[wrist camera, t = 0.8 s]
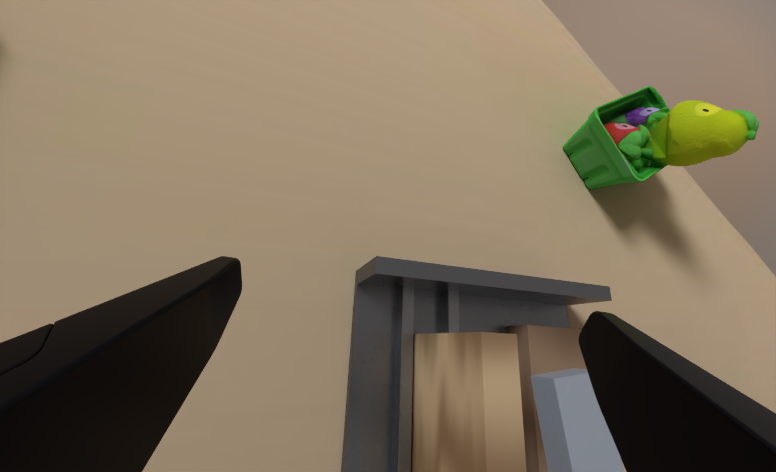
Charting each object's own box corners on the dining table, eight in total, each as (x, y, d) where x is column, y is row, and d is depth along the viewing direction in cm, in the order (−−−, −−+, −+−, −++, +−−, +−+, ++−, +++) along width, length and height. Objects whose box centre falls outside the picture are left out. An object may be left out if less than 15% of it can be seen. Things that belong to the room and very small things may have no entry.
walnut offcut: (583, 544, 23) (611, 561, 21) (523, 555, 21) (547, 575, 19) (559, 329, 27) (581, 328, 25) (508, 325, 25) (527, 325, 24)
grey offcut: (611, 535, 21) (643, 553, 20) (563, 555, 20) (593, 576, 18) (574, 368, 24) (599, 370, 22) (530, 375, 23) (553, 378, 21)
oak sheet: (438, 549, 20) (541, 672, 12) (406, 554, 19) (495, 687, 12) (437, 335, 23) (516, 334, 16) (411, 334, 23) (481, 331, 15)
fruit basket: (607, 113, 39) (729, 33, 29) (648, 179, 38) (790, 120, 28) (547, 140, 34) (669, 55, 24) (593, 216, 33) (740, 162, 23)
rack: (593, 592, 23) (667, 648, 18) (327, 657, 17) (348, 760, 13) (559, 294, 29) (609, 286, 25) (356, 270, 23) (376, 256, 19)
